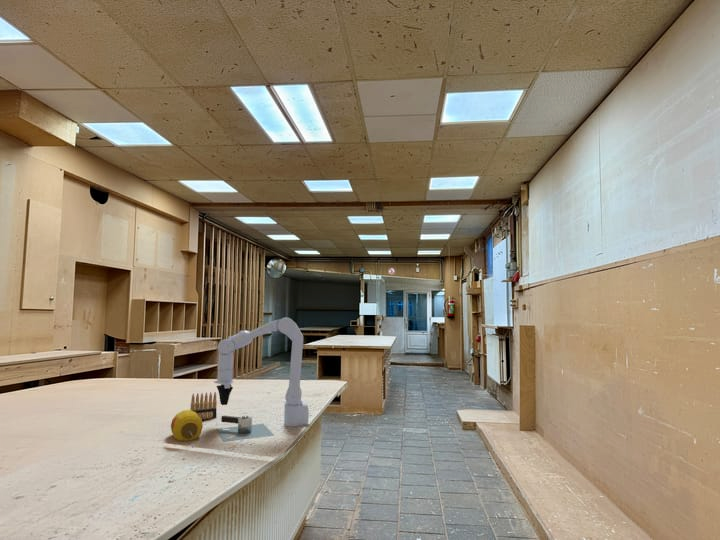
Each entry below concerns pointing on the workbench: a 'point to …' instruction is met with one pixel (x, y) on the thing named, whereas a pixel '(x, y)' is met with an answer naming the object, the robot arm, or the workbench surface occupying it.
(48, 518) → the workbench surface
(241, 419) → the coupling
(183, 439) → the lantern
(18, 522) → the workbench surface
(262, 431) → the mounting plate
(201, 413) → the ammunition clip
